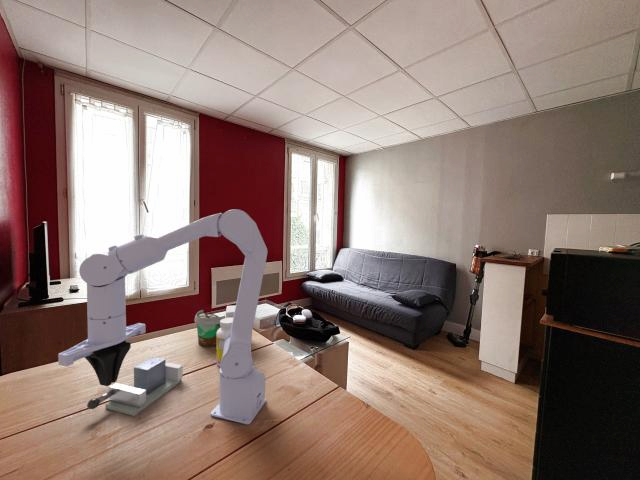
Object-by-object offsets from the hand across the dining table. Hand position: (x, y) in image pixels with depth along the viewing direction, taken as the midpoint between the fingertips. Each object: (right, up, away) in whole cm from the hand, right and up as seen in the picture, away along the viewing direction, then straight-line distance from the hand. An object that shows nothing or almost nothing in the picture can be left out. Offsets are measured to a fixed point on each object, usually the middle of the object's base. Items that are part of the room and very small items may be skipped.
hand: (108, 382), depth 51 cm
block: (0, -8, +12) cm, 14 cm away
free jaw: (-2, -8, +4) cm, 9 cm away
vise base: (0, -9, +11) cm, 14 cm away
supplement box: (+13, -8, +38) cm, 41 cm away
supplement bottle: (+14, -9, +26) cm, 31 cm away
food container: (+3, -8, +37) cm, 38 cm away
